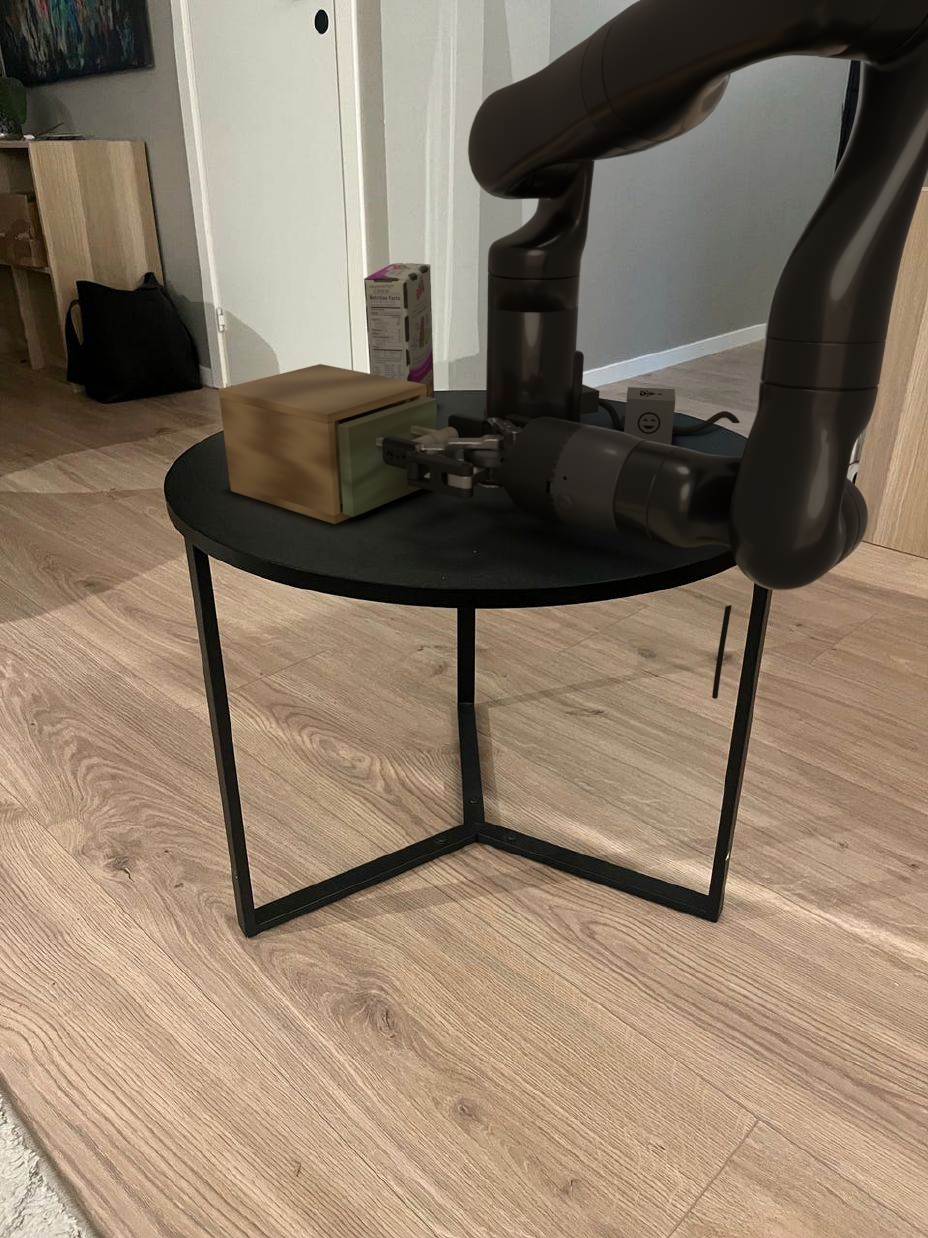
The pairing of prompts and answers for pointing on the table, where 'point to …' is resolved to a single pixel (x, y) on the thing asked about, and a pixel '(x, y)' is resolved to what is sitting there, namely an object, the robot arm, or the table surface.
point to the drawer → (362, 455)
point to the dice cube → (650, 413)
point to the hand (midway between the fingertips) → (418, 437)
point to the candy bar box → (401, 323)
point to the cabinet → (299, 433)
